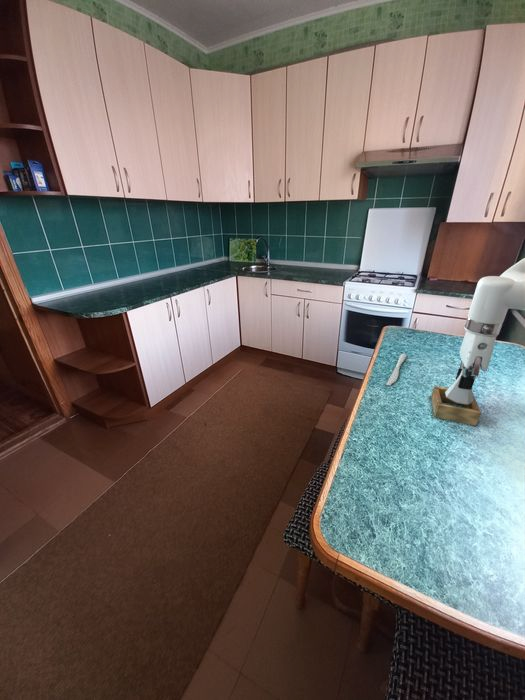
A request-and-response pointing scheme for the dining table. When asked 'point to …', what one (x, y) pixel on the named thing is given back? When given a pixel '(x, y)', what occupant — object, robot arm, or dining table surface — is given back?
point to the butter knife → (396, 370)
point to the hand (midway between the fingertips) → (463, 384)
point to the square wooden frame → (454, 408)
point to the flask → (459, 392)
